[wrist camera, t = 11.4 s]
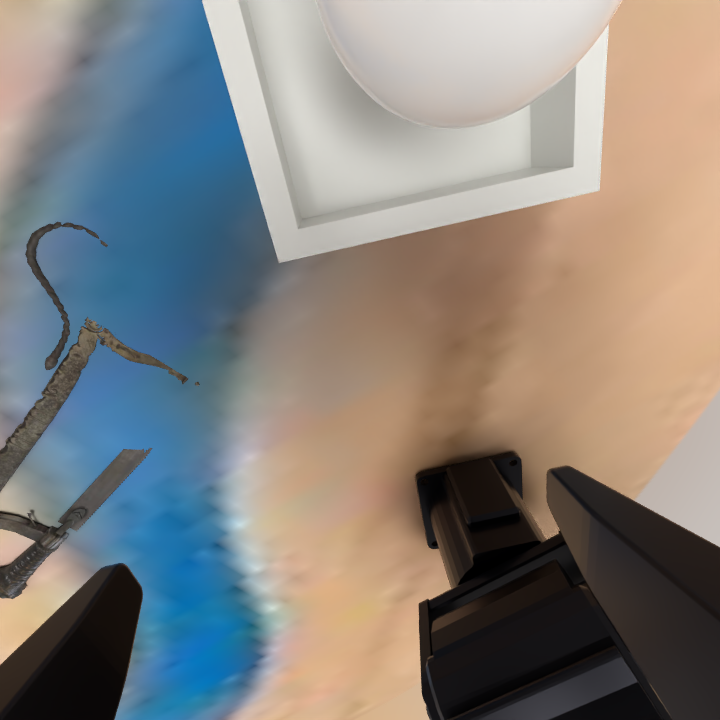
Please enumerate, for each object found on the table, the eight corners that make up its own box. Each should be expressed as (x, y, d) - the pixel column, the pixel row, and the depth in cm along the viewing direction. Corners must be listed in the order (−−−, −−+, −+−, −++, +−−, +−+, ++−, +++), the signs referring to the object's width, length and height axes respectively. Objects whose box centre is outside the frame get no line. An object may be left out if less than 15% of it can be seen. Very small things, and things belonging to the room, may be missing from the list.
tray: (544, 186, 18) (599, 190, 15) (287, 244, 18) (278, 263, 15) (544, -209, 13) (630, -352, 9) (184, -123, 13) (133, -233, 10)
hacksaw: (21, 589, 27) (5, 612, 26) (-159, 516, 23) (-188, 538, 22) (252, 348, 21) (248, 360, 20) (60, 198, 17) (38, 200, 16)
